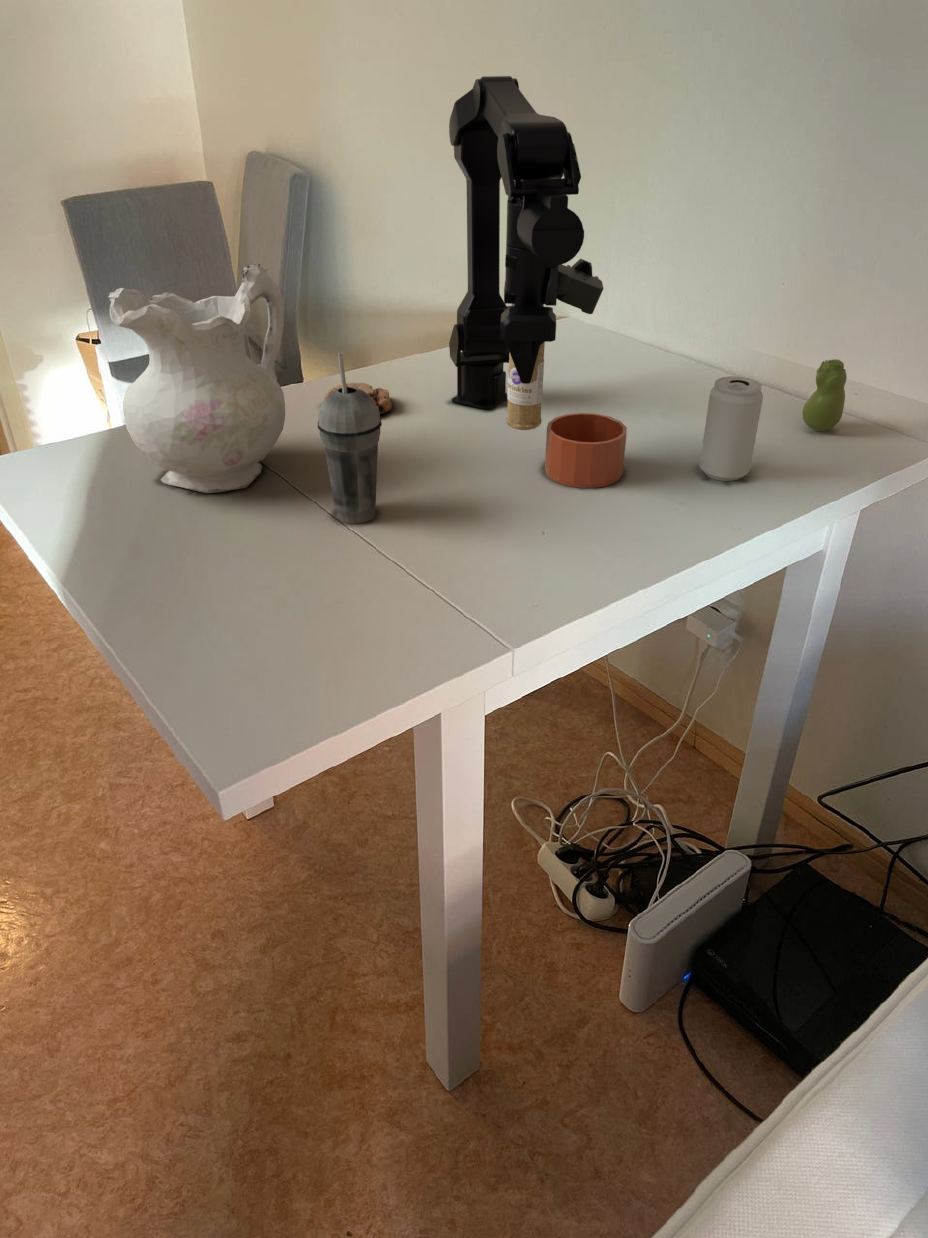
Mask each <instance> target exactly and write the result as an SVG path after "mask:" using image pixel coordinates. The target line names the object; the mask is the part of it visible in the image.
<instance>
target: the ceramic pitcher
mask: <svg viewBox="0 0 928 1238" xmlns="http://www.w3.org/2000/svg"><path fill="white" fill-rule="evenodd" d="M268 270H269V268H264V266H263V265H261V263H258V264H255V263H254V264H250V265H247V266H244V267H243V269H242V271H240V273H241V274H242V277H241V284H240V286H239V288H238V290H237V292H235V295H233V296H232V295H231V296H226V295H225V296H223V295H211V296H209V297H206V298H203V299H200V300H197V301H195V302H194V301H192V300H189V299H187V298H185V297H182V296H180V295H178V294H175V293H174V292H169V291H168V292H167V291H165V292H163V293H161V294H154V295H153V296H151V297H149V298H147V297H146V296H145V295H144V293H142V292H141V291H140V290H137V289H131V287H129V288H128V287H127V288H124V287H119V288H117V289H116V290H114V291H112V292H109V295H108V298H109V301H110V304H109V317H110V321H111V322H112V323H113V324H114V325H115V326H117V327H121V328H125V329H129V330H132V331H133V332H134V333H135V334H136V335H137V336H139V337H140V338H141V339H142V340H143V342H144V343H145V344H146V347H147V351H148V355H149V356H148V357H149V362H148V366H147V367H146V368H145V370H144V371H143V372H142V373H141V374H140V375H139V376H138V378H136V379H135V380H134V381H133V382H132V383H131V384H129V386H127V388H126V390H125V393H124V396H123V400H122V414H123V416H124V422H125V427H126V430H127V431H128V434H129V436H130V438H131V440H132V441H133V443H134V444H135V446H136V447H137V448H138V450H140V451H141V452H142V453H143V455H144V456H146V457H147V458H148V459H149V460H150V461H151V462H152V463H153V464H155V465H157V466H159V467H160V468H161V469H164V470H168V471H167V472H166V473H165V474H164V475H163V476H162V477H161V478H160V482H162V484H165V485H168V486H174V487H178V488H182V489H183V488H184V489H187V490H191V491H195V492H199V493H203V494H213V493H214V494H215V493H224V492H227V491H228V492H229V491H233V490H234V491H235V490H239V489H240V490H241V489H247V488H248V486H249V485H250V484H252V483H253V481H254V480H256V479H257V477H258V476H259V475H260V474H261V473H262V468H263V465H262V464H261V461H263V460H265V458H266V456H267V455H268V454H269V453H270V451H272V449H273V448H274V446H275V445H276V443H277V441H278V440H279V437H280V436H281V435H282V432H283V430H284V426H285V421H286V401H285V394H284V391H283V388H282V387H281V385H280V383H279V382H278V378H277V375H276V370H275V366H276V365H275V362H276V359H277V357H278V355H279V352H280V349H281V348H282V342H283V341H282V340H283V332H284V326H285V305H284V300H283V299H284V298H283V295H282V293H281V290H280V288H279V285H278V284H277V283H276V282H275V281H274V279H272V277H271V276H270V275H269V273H268V272H267V271H268ZM261 298H263V300H264V302H265V305H266V310H267V318H268V324H267V330H266V333H265V337H264V340H263V350H262V357H261V361H260V363H259V364H256V363H255V362H254V361H253V360H252V359H251V358H250V357H249V355H248V354H247V351H246V350H247V349H246V346H245V338H246V331H247V328H248V323H249V321H250V318H251V313H252V312H251V306H252V305H253V304H255V302H256V301H257V300H259V299H261Z"/></svg>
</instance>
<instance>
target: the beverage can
mask: <svg viewBox="0 0 928 1238" xmlns="http://www.w3.org/2000/svg"><path fill="white" fill-rule="evenodd" d="M762 385H763V384H762V383H760V382H759V381H757V380H755V379H753V378H749V377H746V376H735V375H734V376H730V375H729V376H722V377H719V378H717V379H716V380H714V386H713V387H712V388H711V389H710V392H709V398H708V404H707V411H706V419H705V425H704V432H703V439H702V444H701V451H700V457H699V458H700V459H699V468H700V469H701V471H702V472H704V474H705V475H706V476H707V477H708V478H711V479H714V480H716V481H721V482H734V481H738V480H740V479H741V478H743V477H745V476H747V475H748V474H749V472H751V468H752V467H751V466H752V461H753V457H754V456H753V455H754V450H755V444H756V438H757V433H758V429H759V422H760V417H761V412H762V411H761V409H762V407H763V406H762V405H763V401H764V394H763V392H762V387H763V386H762Z"/></svg>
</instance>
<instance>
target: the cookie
mask: <svg viewBox="0 0 928 1238" xmlns="http://www.w3.org/2000/svg"><path fill="white" fill-rule="evenodd" d="M346 387H354V388H358V389H360V390H362V391H364V392H366V393H367V394H368V395H369V396H370V397H371V398H372V399H373V400H374V402H375V403H376V405H377V407H378V411H379V415H382V414H387V412H390V411H391V410H392V408H393V403H392V399H391V397H390V392H389V390H388V389H384V388H382V387H376V388H375V389H374V388H373V386H372V385H371V384H368V383H364V382H346ZM339 388H342V384H339V385H337V386H334V387H333V388H330V389H329V390H328V391H326V393H325V395H324V398H323V401H324V400H325V399H326V397H327V396H328V395H329V394H330V393H331V392H333V391H335V390H336V389H339Z"/></svg>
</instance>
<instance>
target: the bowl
mask: <svg viewBox="0 0 928 1238" xmlns="http://www.w3.org/2000/svg"><path fill="white" fill-rule="evenodd" d="M627 432H628V427H627V426H626V425H625V424H624V423H623V422H622V421H621V420H618V419H617V418H614V417H612V416H610V415H609V416H608V415H604V414H600V413H592V412H591V413H590V412H589V413H588V412H575V413H566V414H563V415H559V416H556V417H554V418H553V419H551V420H549V422H548V423H547V427H546V440H545V455H544V456H545V459H544V473H545V474H546V476H547V477H548V478H549V479H550V480H552V481H554V482H556V483H558V484H561V485H563V486H568V487H571V488H579V489H580V488H581V489H595V488H603V487H607V486H610V485H613V484H615V483H617V482H618V481H619V480H620V479H621V478H622V477H623V473H624V465H625V456H626V455H625V454H626V446H627V445H626V444H627V434H628V433H627Z"/></svg>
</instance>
